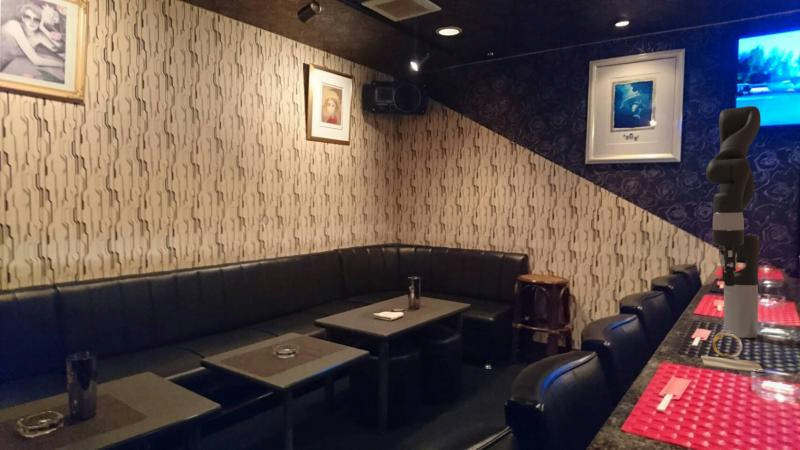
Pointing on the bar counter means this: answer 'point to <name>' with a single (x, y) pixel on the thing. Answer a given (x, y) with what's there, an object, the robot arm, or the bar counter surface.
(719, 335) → the ring
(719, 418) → the bar counter surface
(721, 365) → the birch board
